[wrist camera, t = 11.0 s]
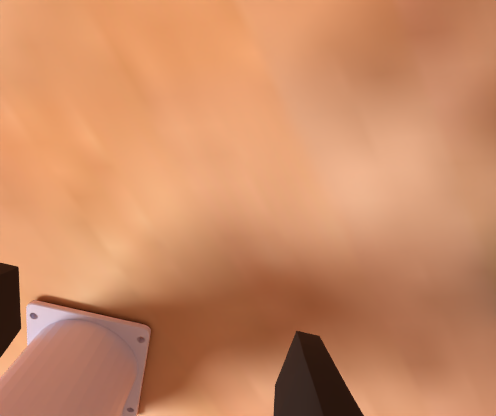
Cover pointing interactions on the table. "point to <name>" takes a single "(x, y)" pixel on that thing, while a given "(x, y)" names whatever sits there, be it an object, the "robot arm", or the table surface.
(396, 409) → the table surface
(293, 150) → the table surface
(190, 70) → the table surface
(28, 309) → the robot arm
